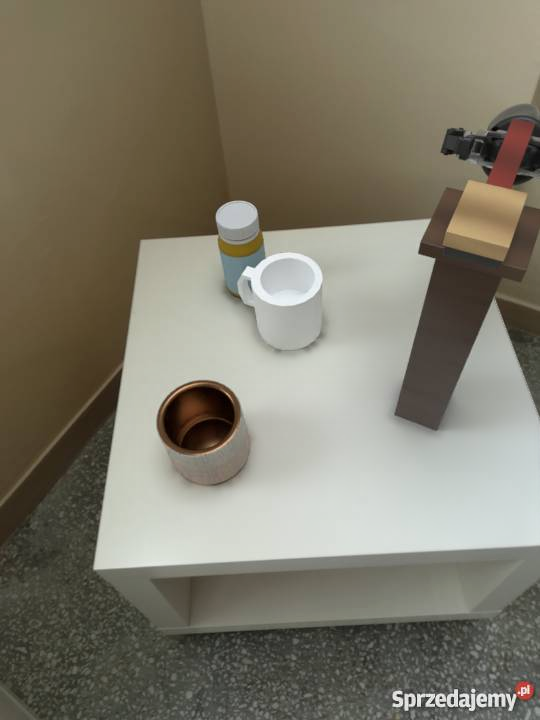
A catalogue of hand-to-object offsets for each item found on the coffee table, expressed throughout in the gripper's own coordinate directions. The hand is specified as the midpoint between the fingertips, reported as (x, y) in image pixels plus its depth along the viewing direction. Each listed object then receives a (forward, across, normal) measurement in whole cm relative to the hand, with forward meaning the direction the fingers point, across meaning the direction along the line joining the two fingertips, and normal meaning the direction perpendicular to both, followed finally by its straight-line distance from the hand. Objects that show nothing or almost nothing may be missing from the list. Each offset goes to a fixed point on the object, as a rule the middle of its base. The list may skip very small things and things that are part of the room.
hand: (510, 158), depth 50 cm
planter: (+6, -24, +43) cm, 50 cm away
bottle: (-19, -33, +29) cm, 48 cm away
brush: (+3, 0, +3) cm, 5 cm away
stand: (-9, 0, +34) cm, 35 cm away
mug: (-15, -24, +31) cm, 42 cm away
